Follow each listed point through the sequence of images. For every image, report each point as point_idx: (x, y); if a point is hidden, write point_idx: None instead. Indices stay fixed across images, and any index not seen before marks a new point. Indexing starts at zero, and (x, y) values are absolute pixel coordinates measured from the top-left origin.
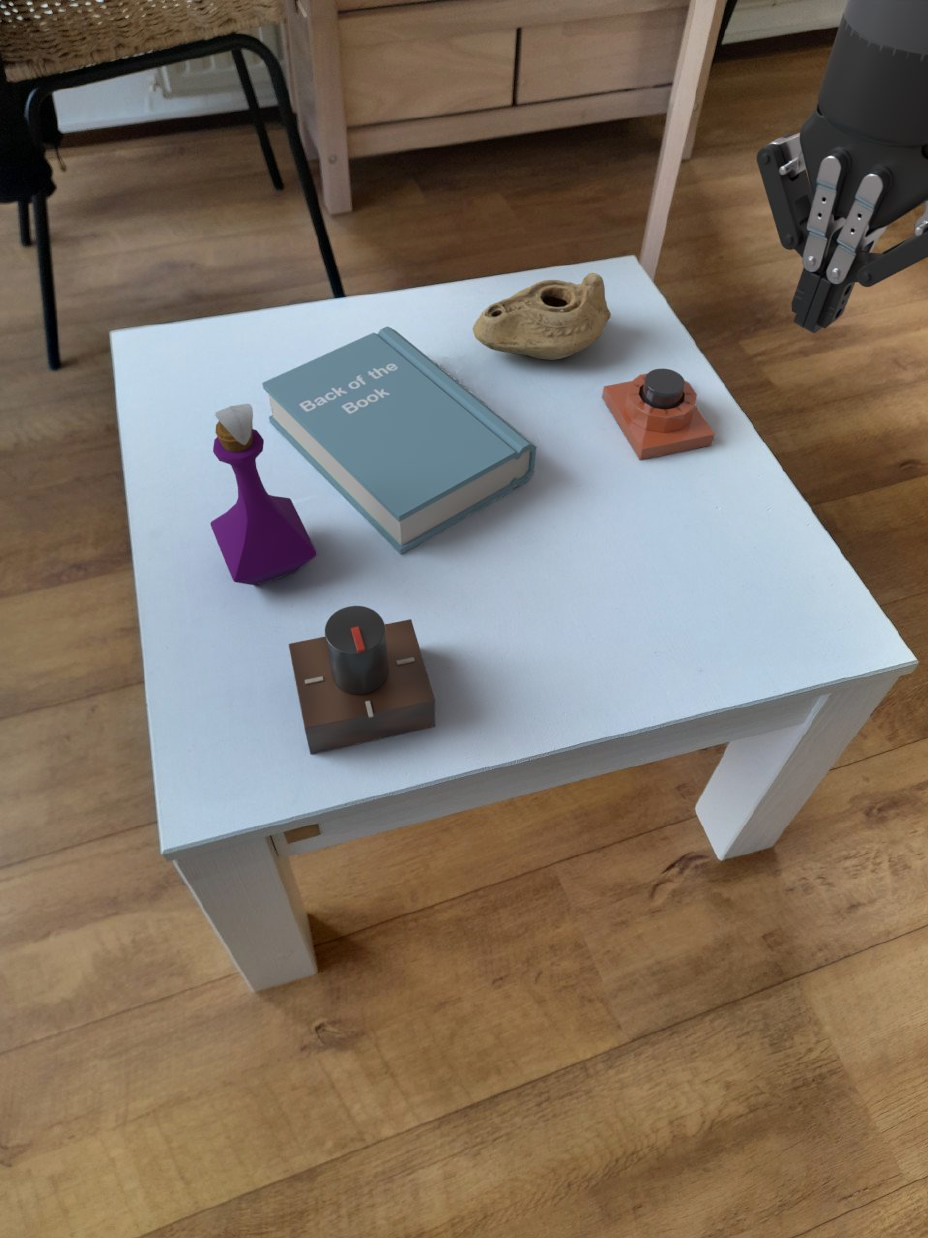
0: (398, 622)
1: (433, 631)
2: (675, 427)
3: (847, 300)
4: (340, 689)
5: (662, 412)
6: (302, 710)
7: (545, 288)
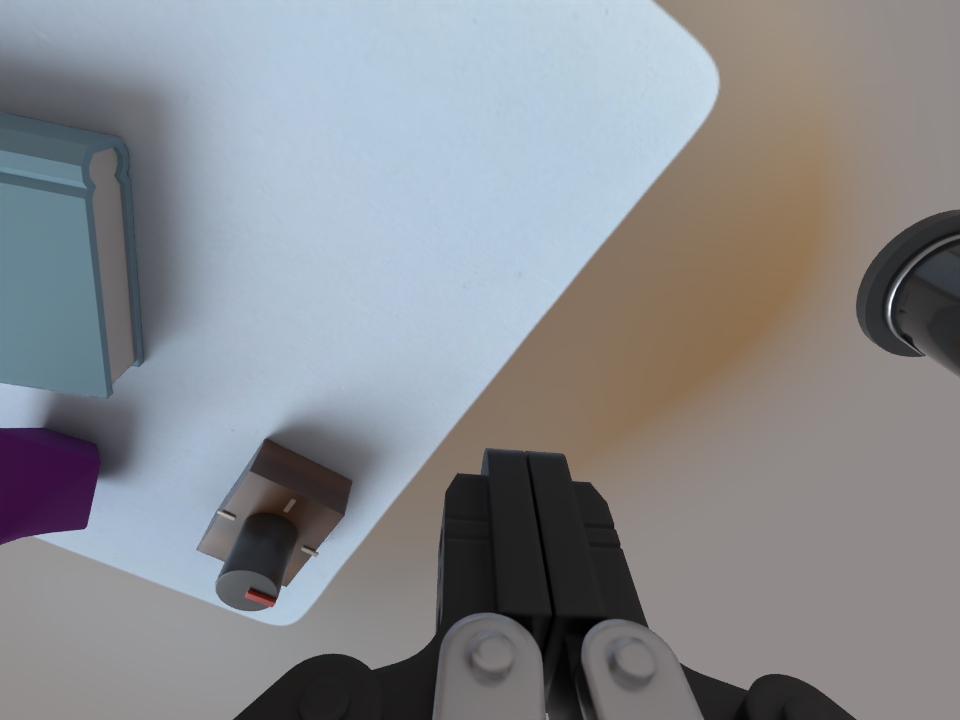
0: (244, 480)
1: (263, 412)
2: None
3: (619, 548)
4: None
5: None
6: None
7: None
